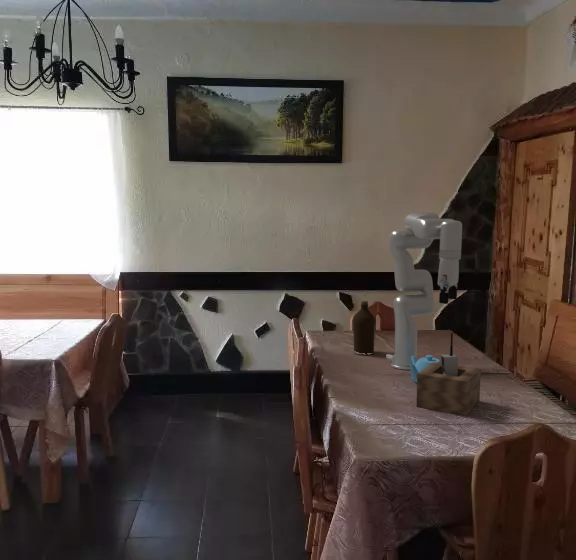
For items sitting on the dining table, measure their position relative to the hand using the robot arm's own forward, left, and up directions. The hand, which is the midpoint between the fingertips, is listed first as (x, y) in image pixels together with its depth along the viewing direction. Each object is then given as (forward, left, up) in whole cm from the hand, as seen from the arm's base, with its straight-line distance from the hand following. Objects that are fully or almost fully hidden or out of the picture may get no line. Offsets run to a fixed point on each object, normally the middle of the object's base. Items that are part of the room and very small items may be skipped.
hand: (448, 301), depth 220 cm
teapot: (-11, +13, -36) cm, 40 cm away
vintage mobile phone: (+4, -9, -35) cm, 36 cm away
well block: (+4, -9, -36) cm, 37 cm away
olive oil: (-52, +40, -36) cm, 75 cm away
